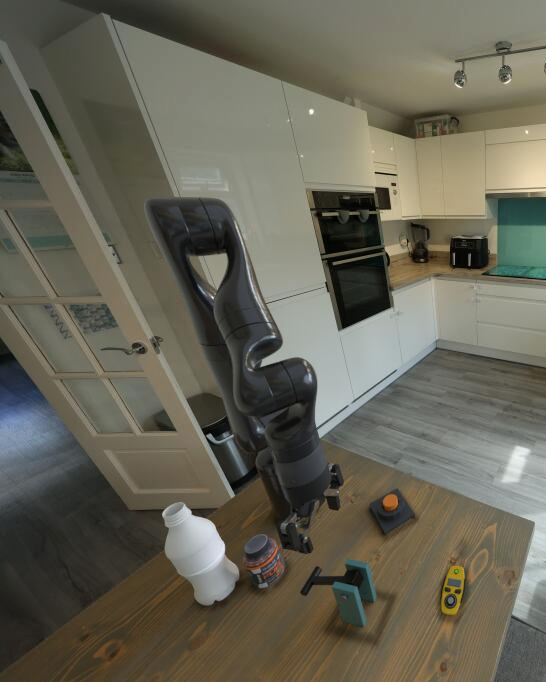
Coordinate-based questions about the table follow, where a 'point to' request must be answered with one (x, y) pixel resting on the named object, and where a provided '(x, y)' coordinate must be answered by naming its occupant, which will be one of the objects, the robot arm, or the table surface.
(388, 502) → the button
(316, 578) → the lever
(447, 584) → the remote control
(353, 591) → the pair of teal panels
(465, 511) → the table surface
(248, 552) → the supplement bottle
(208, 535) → the water bottle
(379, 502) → the control block
